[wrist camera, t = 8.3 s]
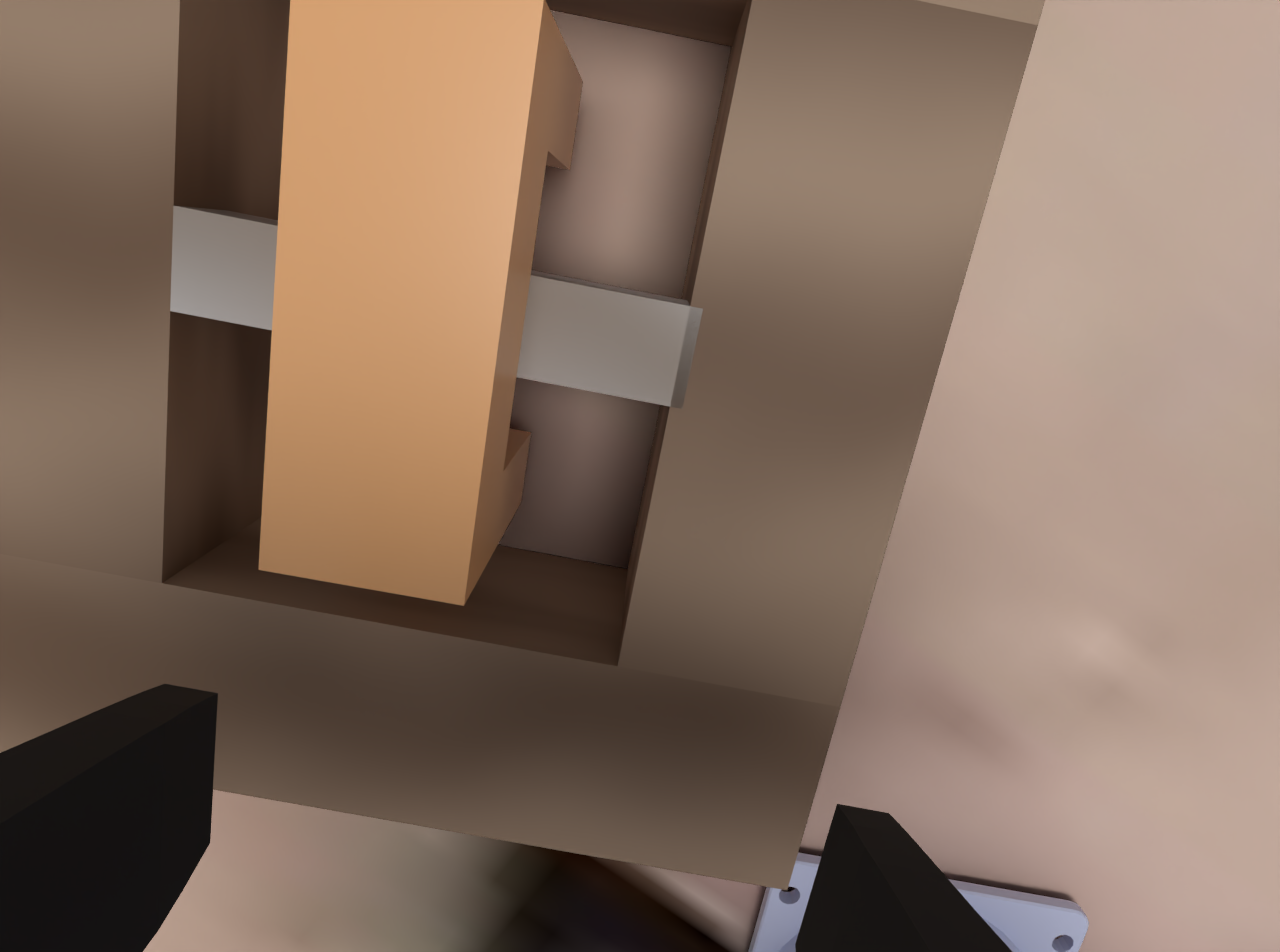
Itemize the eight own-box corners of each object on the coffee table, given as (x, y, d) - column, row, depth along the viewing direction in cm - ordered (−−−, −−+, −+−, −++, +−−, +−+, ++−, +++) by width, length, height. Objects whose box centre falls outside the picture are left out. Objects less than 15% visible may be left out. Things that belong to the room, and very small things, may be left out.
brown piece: (759, 749, 20) (787, 890, 15) (100, 631, 19) (-62, 741, 15) (996, -151, 15) (1137, -320, 10) (110, -339, 14) (-131, -597, 10)
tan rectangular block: (520, 502, 17) (463, 606, 12) (375, 476, 17) (257, 569, 12) (582, 81, 14) (544, -3, 10) (416, 49, 14) (292, -51, 10)
